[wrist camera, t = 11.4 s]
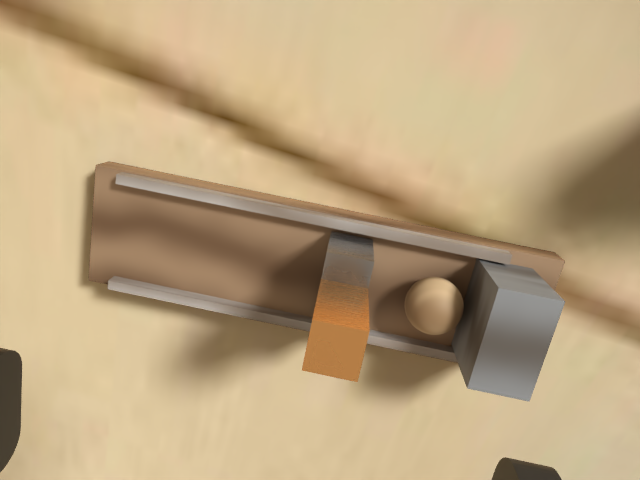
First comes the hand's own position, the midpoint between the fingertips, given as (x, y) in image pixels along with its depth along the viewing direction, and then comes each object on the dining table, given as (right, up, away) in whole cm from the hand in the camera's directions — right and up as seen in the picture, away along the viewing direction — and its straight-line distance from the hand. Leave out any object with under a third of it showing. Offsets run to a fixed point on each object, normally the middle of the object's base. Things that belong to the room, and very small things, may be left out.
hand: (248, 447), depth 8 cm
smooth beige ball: (+9, -1, +27) cm, 28 cm away
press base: (+1, +2, +31) cm, 31 cm away
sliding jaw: (+3, +1, +29) cm, 29 cm away
